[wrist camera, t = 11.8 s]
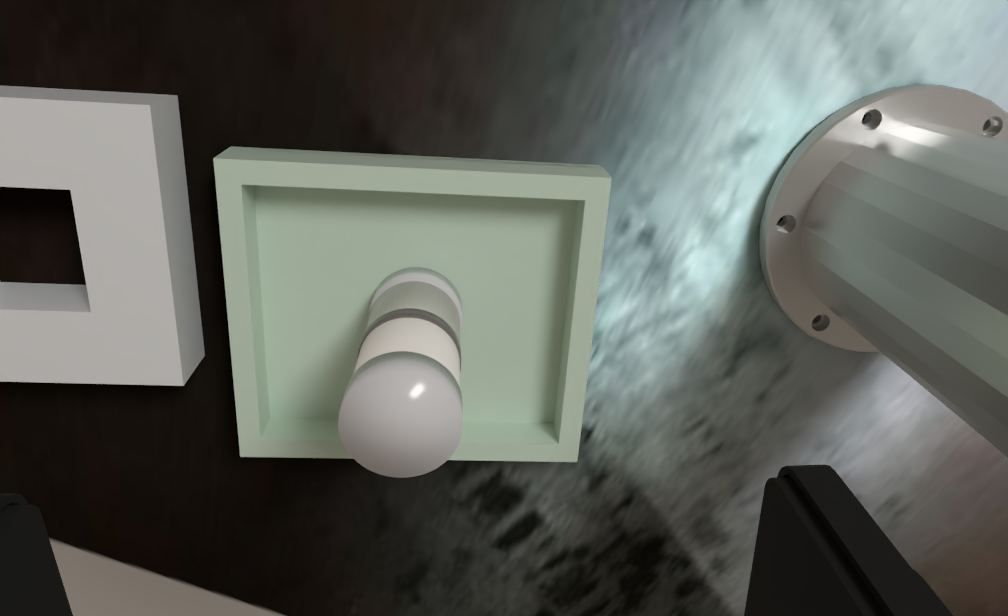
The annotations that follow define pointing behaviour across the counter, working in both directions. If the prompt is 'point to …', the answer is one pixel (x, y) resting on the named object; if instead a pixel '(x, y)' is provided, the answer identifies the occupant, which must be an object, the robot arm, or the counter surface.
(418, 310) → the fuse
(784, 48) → the counter surface
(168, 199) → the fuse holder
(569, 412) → the parts tray
